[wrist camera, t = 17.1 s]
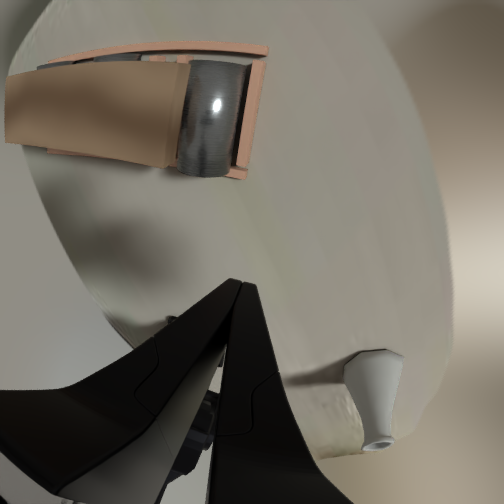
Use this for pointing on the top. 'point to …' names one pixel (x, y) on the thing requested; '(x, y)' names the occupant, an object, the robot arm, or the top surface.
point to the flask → (374, 394)
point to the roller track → (255, 76)
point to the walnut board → (100, 109)
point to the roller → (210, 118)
